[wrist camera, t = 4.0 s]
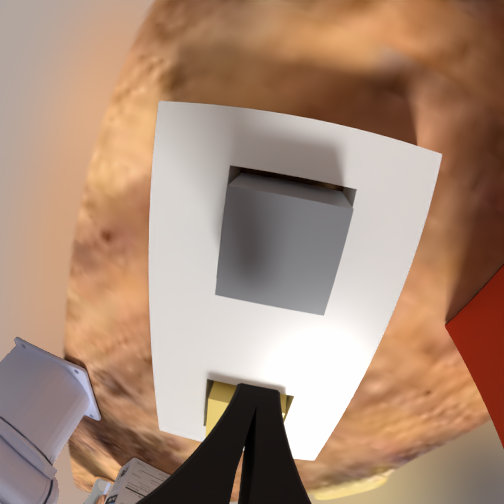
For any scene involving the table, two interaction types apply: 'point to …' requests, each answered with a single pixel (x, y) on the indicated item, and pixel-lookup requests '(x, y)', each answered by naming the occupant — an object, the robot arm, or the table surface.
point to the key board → (263, 316)
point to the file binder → (484, 345)
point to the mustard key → (225, 403)
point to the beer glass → (99, 491)
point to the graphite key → (281, 243)
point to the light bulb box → (135, 482)
